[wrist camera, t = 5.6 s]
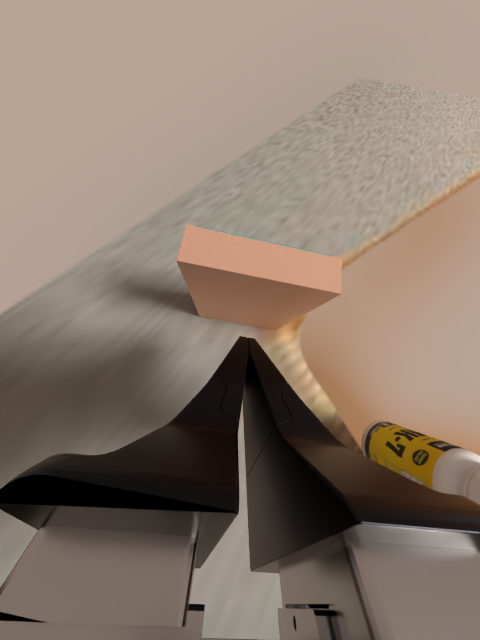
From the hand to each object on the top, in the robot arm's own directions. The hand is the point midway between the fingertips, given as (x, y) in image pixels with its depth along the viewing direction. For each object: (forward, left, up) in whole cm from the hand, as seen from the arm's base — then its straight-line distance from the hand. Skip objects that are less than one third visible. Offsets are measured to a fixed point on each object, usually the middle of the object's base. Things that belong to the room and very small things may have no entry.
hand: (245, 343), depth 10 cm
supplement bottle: (-2, -17, -8) cm, 19 cm away
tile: (+4, +1, -8) cm, 9 cm away
